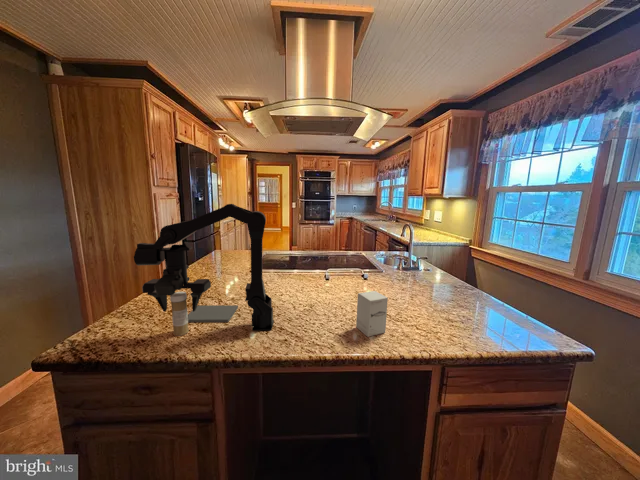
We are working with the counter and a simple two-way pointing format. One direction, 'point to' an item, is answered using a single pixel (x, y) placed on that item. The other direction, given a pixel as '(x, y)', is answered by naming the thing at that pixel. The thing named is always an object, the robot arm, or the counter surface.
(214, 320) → the gray tray
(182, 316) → the sprinkles bottle
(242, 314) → the counter surface
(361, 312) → the supplement box
